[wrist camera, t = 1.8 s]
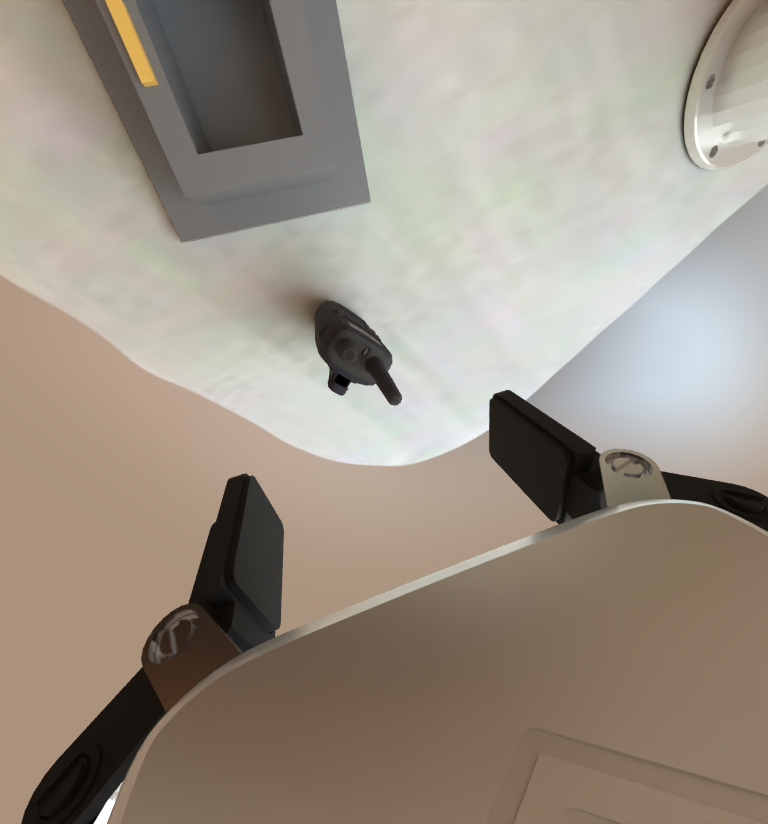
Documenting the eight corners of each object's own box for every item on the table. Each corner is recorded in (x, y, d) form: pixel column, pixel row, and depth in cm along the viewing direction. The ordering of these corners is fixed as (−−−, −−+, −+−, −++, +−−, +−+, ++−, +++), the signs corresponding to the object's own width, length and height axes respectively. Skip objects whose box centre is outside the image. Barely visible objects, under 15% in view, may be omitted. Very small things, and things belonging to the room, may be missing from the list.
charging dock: (311, -115, 16) (318, -303, 10) (368, 202, 23) (389, 190, 18) (25, -90, 14) (-146, -297, 9) (185, 242, 21) (148, 242, 16)
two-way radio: (374, 325, 28) (436, 394, 15) (349, 363, 29) (387, 455, 17) (323, 291, 25) (348, 339, 13) (298, 334, 27) (298, 416, 14)
